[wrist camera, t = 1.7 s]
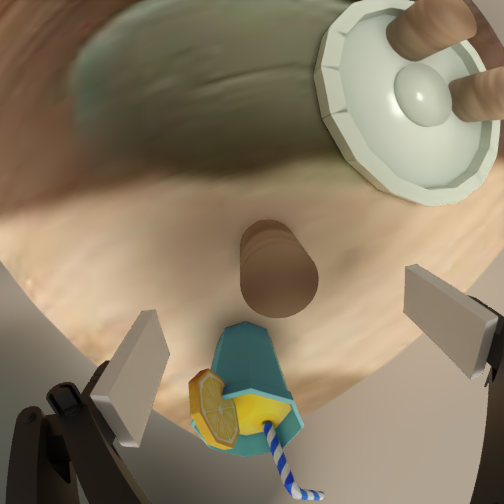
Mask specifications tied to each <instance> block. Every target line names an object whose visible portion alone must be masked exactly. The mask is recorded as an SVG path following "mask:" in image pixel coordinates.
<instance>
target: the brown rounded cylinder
mask: <svg viewBox="0 0 504 504" xmlns="http://www.w3.org/2000/svg"><path fill="white" fill-rule="evenodd" d="M476 31H477V26H476V21H475V19H474V16H473V14H472V12H471V11H470V9H469V8H468V6H467V5H466V4H465V3H464V2H463V1H462V0H417V1H416V2H415V3H414V4H412V5H411V6H410V7H409V8H407V9H406V10H405V11H404V12H402V13H401V14H400V15H399V16H397V17H396V18H395V19H394V20H393V21H391V22H390V23H389V24H388V25H387V27H386V37H387V40H388V42H389V44H390V46H391V47H392V49H393V50H394V51H395V52H396V53H397V54H398V55H400V56H401V57H402V58H404V59H406V60H409V61H413V62H417V61H420V60H423V59H425V58H427V57H429V56H431V55H433V54H435V53H437V52H439V51H441V50H444V49H446V48H448V47H450V46H452V45H455V44H457V43H459V42H462V41H464V40H466V39H469V38H471V37H473V36H475V34H476Z"/></svg>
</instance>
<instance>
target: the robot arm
mask: <svg viewBox="0 0 504 504" xmlns="http://www.w3.org/2000/svg"><path fill="white" fill-rule="evenodd" d="M403 312H404V313H405V314H406V315H407V316H408V317H409V318H410V319H411V320H412V321H413V322H414V323H415V324H416V325H417V326H418V327H419V328H420V329H421V330H422V331H423V332H424V333H425V334H426V335H427V336H428V337H429V338H430V339H431V340H432V341H433V342H434V343H435V344H436V345H437V346H438V347H439V348H440V349H441V350H442V351H443V352H444V353H445V354H446V355H447V356H448V357H449V358H450V359H451V360H452V361H453V362H454V363H455V364H456V365H457V366H458V367H459V368H460V369H461V370H462V372H463V373H465V375H466V376H467V377H468V378H469V379H470V380H471V379H473V378H475V377H477V376H479V375H481V374H483V372H484V368H485V365H486V362H488V363H489V364H490V365H491V368H490V372H489V374H488V377H487V380H486V383H485V386H484V387H486V386H487V384H488V383H489V391H488V407H487V418H486V419H487V420H486V428H485V435H484V442H483V448H482V454H481V460H480V465H479V470H478V474H477V479H476V483H475V487H474V491H473V494H472V498H471V502H470V504H504V317H503V316H502V315H501V314H499V313H498V312H496V311H495V310H493V309H492V308H490V307H488V306H487V305H485V304H483V303H482V302H481V301H480V300H478V299H477V298H474V297H471V296H468V295H466V294H464V293H462V292H461V291H459V290H458V289H456V288H455V287H453V286H452V285H450V284H448V283H447V282H445V281H444V280H442V279H440V278H439V277H437V276H436V275H434V274H432V273H431V272H429V271H427V270H426V269H424V268H422V267H421V266H419V265H417V264H415V265H410V266H406V267H405V293H404V311H403ZM169 356H170V352H169V349H168V347H167V344H166V341H165V338H164V335H163V332H162V329H161V326H160V322H159V319H158V316H157V313H156V310H146V311H142V312H141V313H140V315H139V316H138V318H137V319H136V321H135V322H134V324H133V326H132V327H131V329H130V330H129V332H128V333H127V335H126V336H125V338H124V340H123V341H122V343H121V344H120V346H119V348H118V349H117V351H116V352H115V354H114V356H113V357H112V359H111V360H110V361H105V362H104V363H102V364H101V365H100V366H99V367H98V368H97V370H96V371H95V373H94V374H93V375H94V376H92V377H91V379H90V382H88V384H87V385H86V387H85V389H84V390H83V392H82V394H80V392H79V390H78V389H77V387H76V385H74V383H71V382H64V383H60V384H58V385H56V386H54V387H53V388H52V389H51V390H49V392H48V394H47V396H46V399H47V401H48V403H49V404H50V406H51V407H52V409H53V410H54V412H55V413H56V414H52V415H44V413H43V412H42V410H41V409H40V408H39V407H36V406H30V407H28V408H25V409H23V410H22V411H21V413H19V415H18V417H17V419H16V424H15V429H14V434H13V440H12V446H11V452H10V460H9V468H8V476H7V488H6V504H80V502H79V496H78V488H77V479H76V474H77V477H78V479H79V482H80V484H81V486H82V488H83V491H84V493H85V496H86V498H87V500H88V502H89V504H152V503H151V501H150V500H149V499H148V498H147V496H146V495H145V493H144V492H143V490H142V489H141V487H140V486H139V485H138V483H137V482H136V480H135V479H134V477H133V476H132V474H131V472H130V471H129V469H128V468H127V466H126V464H125V463H124V461H123V460H122V458H121V456H120V455H119V453H118V451H117V449H116V448H115V447H114V445H113V441H114V439H115V437H116V438H117V440H118V441H119V442H120V444H121V445H122V446H130V447H139V446H140V442H141V439H142V436H143V433H144V430H145V427H146V423H147V420H148V417H149V414H150V411H151V408H152V405H153V402H154V399H155V396H156V393H157V390H158V387H159V384H160V381H161V379H162V376H163V373H164V370H165V367H166V364H167V361H168V358H169Z"/></svg>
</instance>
